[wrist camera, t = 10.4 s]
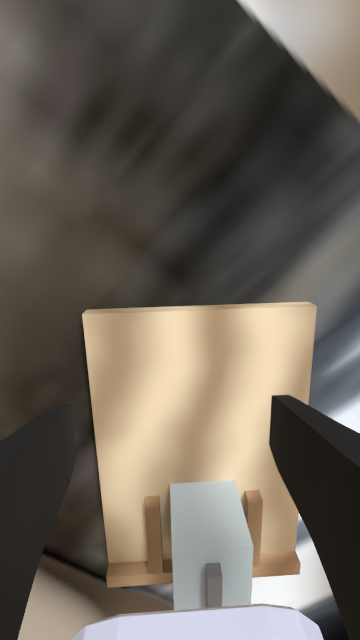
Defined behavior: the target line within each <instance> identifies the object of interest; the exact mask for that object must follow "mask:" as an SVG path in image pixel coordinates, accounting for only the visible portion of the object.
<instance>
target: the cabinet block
mask: <svg viewBox="0 0 360 640" xmlns="http://www.w3.org/2000/svg"><path fill="white" fill-rule="evenodd" d="M170 503H171V538H172V567H173V593H174V610H184V609H197V608H211V607H225V606H238V605H251V591H252V569H253V547H254V546H253V543H252V539H251V536H250V532H249V529H248V525H247V522H246V518H245V515H244V511H243V508H242V504H241V501H240V497H239V494H238V490H237V487H236V483H235V480H227V481H209V482H192V483H174V484H170Z"/></svg>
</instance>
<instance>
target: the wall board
mask: <svg viewBox="0 0 360 640" xmlns="http://www.w3.org/2000/svg"><path fill="white" fill-rule="evenodd" d="M316 310H317V306H316V305H314V304H312V303H310V302H290V303H261V304H232V305H204V306H175V307H146V308H118V309H89V310H86V311H85V312H84V313H83V314H82V318H83V327H84V337H85V346H86V355H87V365H88V374H89V384H90V393H91V402H92V412H93V421H94V431H95V440H96V450H97V459H98V468H99V478H100V487H101V497H102V506H103V515H104V525H105V534H106V544H107V553H108V563H109V564H108V570H107V577H106V578H107V586H108V588H110V587H124V586H139V585H153V584H167V583H173V567H172V538H171V503H170V484H174V483H192V482H209V481H227V480H235V483H236V487H237V490H238V494H239V497H240V501H241V504H242V508H243V511H244V515H245V518H246V522H247V525H248V529H249V532H250V536H251V539H252V543H253V546H254V547H253V569H252V578H253V577H267V576H281V575H296V574H300V562H299V559H298V557H297V554H296V552H295V547H296V536H297V525H298V513H299V512H298V510H297V508H296V506H295V504H294V502H293V500H292V498H291V496H290V494H289V492H288V490H287V488H286V486H285V484H284V482H283V480H282V478H281V476H280V474H279V472H278V469H277V467H276V464H275V461H274V458H273V455H272V452H271V449H270V446H269V436H270V418H271V400H272V395H290V396H292V397H294V398H296V399H298V400H300V401H302V402H303V403H305V404H307V405H308V400H309V389H310V378H311V367H312V355H313V344H314V333H315V322H316Z"/></svg>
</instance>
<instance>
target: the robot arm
mask: <svg viewBox="0 0 360 640" xmlns="http://www.w3.org/2000/svg"><path fill="white" fill-rule="evenodd" d="M269 446H270V449H271V452H272V455H273V458H274V461H275V464H276V467H277V469H278V472H279V474H280V476H281V478H282V480H283V482H284V484H285V486H286V488H287V490H288V492H289V494H290V496H291V498H292V500H293V502H294V504H295V506H296V508H297V510H298V512H299V514H300V516H301V518H302V520H303V521H304V523H305V525H306V527H307V530H308V532H309V534H310V536H311V538H312V540H313V543H314V545H315V548H316V550H317V553H318V555H319V558H320V561H321V563H322V566H323V568H324V571H325V573H326V576H327V579H328V581H329V584H330V587H331V590H332V592H333V595H334V598H335V601H336V603H337V606H338V609H339V611H340V614H341V617H342V620H343V623H344V626H345V629H346V632H347V635H348V638H349V640H360V433H358V432H356V431H354V430H352V429H350V428H348V427H346V426H344V425H342V424H340V423H338V422H336V421H335V420H333V419H331V418H329V417H328V416H326V415H324V414H322V413H321V412H319V411H317V410H315V409H314V408H312V407H310V406H309V405H307V404H305V403H303V402H302V401H300V400H298V399H296V398H294V397H292V396H290V395H272V400H271V418H270V436H269ZM75 459H76V447H75V439H74V431H73V423H72V415H71V407H70V405H57V406H51V407H50V408H48V409H46V410H45V411H44V412H42V413H41V414H39V415H38V416H36V417H35V418H34V419H32V420H31V421H29V422H28V423H27V424H25V425H24V426H22V427H21V428H20V429H18V430H17V431H15V432H14V433H12V434H11V435H10V436H8V437H6V438H5V439H3V440H2V441H0V640H17V639H18V635H19V631H20V628H21V624H22V620H23V616H24V613H25V609H26V606H27V602H28V598H29V594H30V591H31V588H32V584H33V581H34V577H35V574H36V571H37V567H38V564H39V560H40V558H41V555H42V552H43V549H44V546H45V544H46V541H47V539H48V536H49V533H50V531H51V528H52V526H53V523H54V521H55V518H56V516H57V513H58V511H59V508H60V506H61V503H62V501H63V498H64V496H65V493H66V490H67V488H68V485H69V483H70V479H71V475H72V472H73V468H74V463H75ZM70 640H324V639H323V637H322V634H321V632H320V629H319V627H318V625H317V624H315V623H314V622H313V621H311V620H310V619H308V618H307V617H306V616H304V615H303V614H301V613H300V612H299V611H297V610H295V609H293V608H291V607H285V606H277V605H269V604H252V605H238V606H225V607H211V608H197V609H184V610H170V611H157V612H143V613H129V614H120V615H116V616H112V617H108V618H104V619H101V620H97V621H94V622H91V623H89V624H88V625H86V626H85V627H84V628H83V629H82V630H81V631H79V632H78V633H77V634H76V635H75V636H74V637H73V638H71V639H70Z"/></svg>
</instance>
